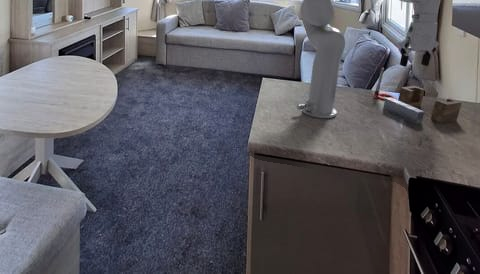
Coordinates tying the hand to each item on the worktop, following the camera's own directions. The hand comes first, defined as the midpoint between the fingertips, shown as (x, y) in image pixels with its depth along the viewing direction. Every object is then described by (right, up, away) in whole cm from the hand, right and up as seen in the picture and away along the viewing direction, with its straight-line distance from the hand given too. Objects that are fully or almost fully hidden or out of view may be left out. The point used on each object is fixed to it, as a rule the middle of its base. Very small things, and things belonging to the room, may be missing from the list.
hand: (413, 65), depth 146 cm
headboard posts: (+9, -17, +10) cm, 21 cm away
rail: (-3, -19, +4) cm, 20 cm away
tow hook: (-2, -10, +25) cm, 27 cm away
